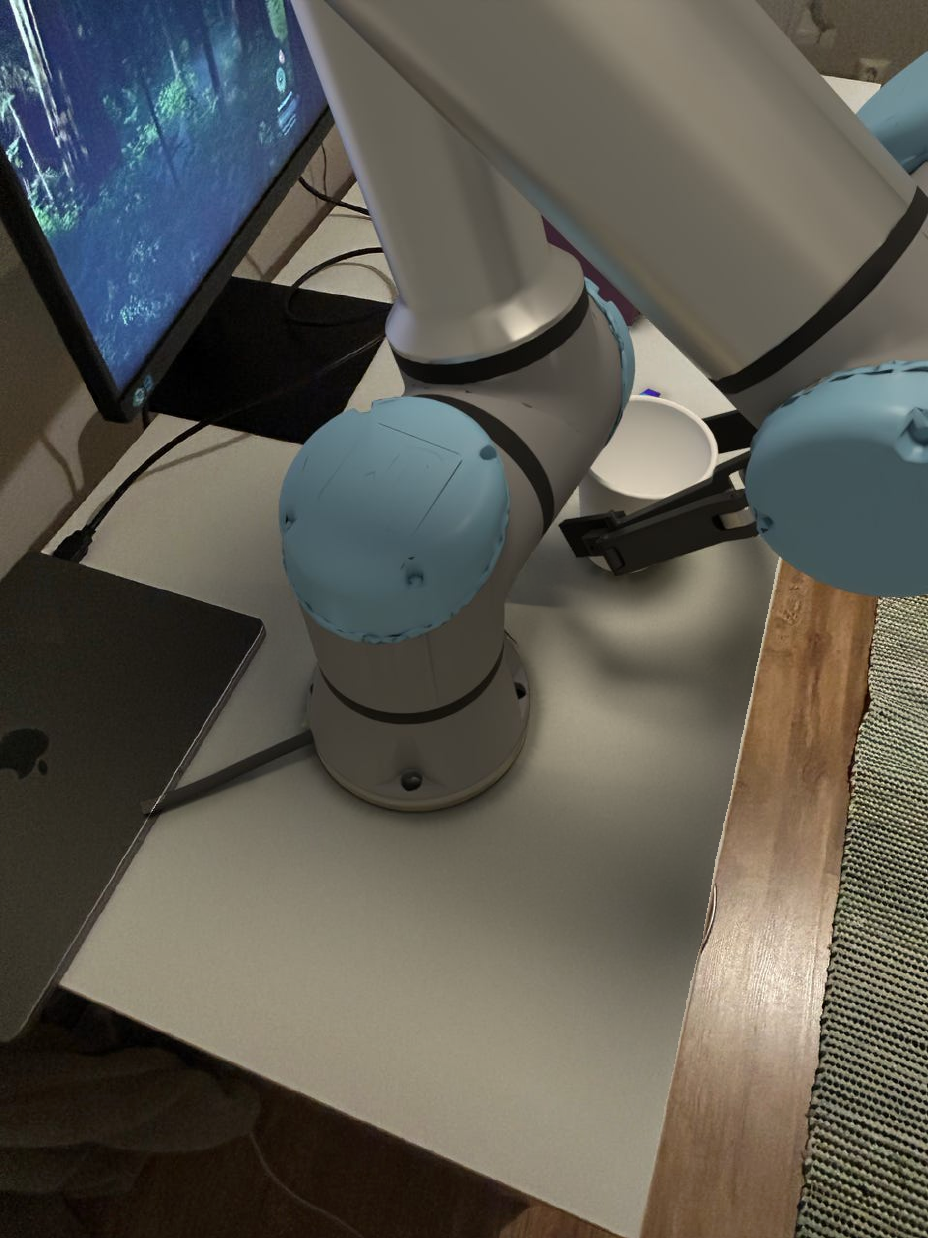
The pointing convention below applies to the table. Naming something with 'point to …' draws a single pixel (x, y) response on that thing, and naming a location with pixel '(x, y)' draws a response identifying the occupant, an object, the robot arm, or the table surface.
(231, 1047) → the table surface
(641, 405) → the cup
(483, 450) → the robot arm
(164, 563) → the table surface
